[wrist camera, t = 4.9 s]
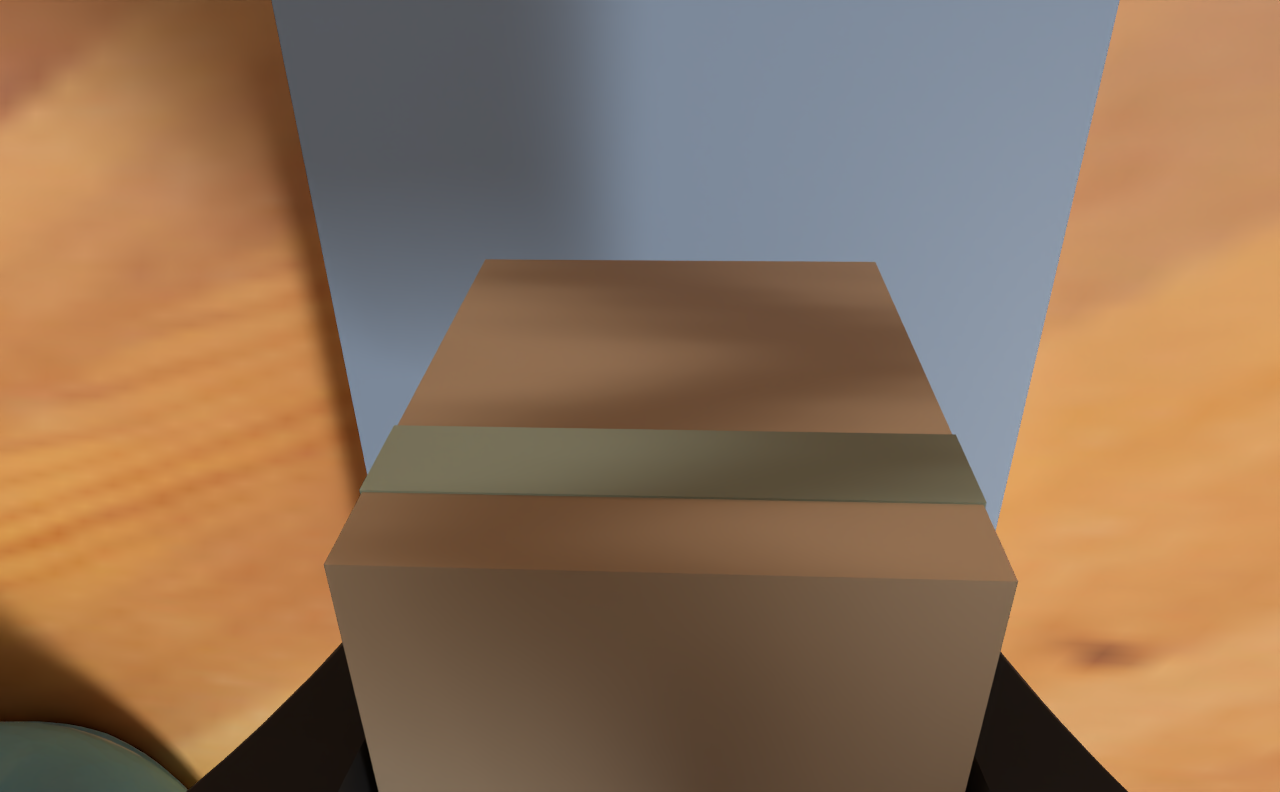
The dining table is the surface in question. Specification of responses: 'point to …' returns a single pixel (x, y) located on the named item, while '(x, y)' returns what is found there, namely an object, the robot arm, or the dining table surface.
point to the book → (700, 163)
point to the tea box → (672, 543)
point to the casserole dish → (75, 761)
